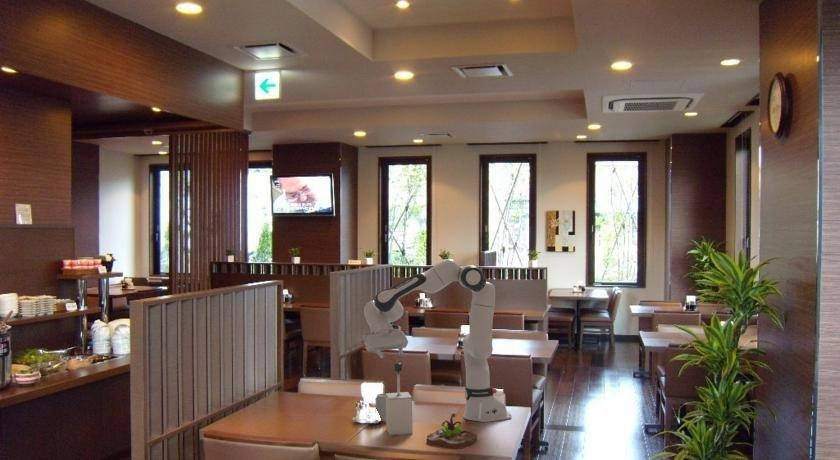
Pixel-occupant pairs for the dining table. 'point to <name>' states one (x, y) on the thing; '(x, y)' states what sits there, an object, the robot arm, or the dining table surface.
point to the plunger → (398, 375)
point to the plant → (451, 436)
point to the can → (381, 406)
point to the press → (399, 414)
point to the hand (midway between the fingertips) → (392, 356)
